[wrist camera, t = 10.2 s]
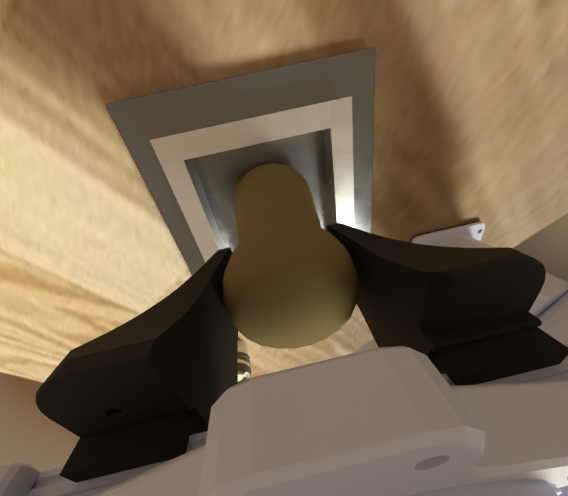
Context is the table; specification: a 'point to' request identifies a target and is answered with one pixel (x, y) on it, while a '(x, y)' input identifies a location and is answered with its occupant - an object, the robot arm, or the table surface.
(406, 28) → the table surface
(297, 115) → the socket board
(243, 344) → the coffee cup
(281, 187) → the brown rounded piece
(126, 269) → the table surface
